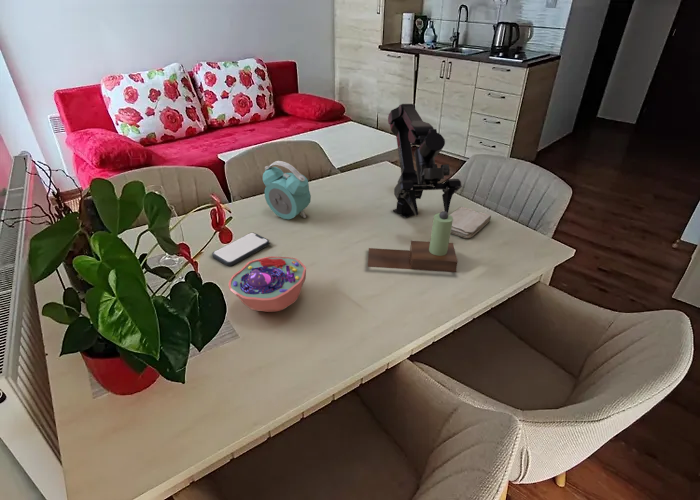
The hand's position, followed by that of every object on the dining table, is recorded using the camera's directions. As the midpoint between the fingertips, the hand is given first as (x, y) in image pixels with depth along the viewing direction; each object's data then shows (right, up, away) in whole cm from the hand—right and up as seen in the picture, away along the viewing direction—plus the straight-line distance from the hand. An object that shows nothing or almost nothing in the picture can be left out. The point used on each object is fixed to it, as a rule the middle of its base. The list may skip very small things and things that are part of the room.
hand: (431, 214), depth 128 cm
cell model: (-44, -24, -16) cm, 53 cm away
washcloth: (+15, -2, +21) cm, 26 cm away
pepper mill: (+1, -11, -3) cm, 11 cm away
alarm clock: (-46, +2, +24) cm, 51 cm away
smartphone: (-57, -11, +4) cm, 58 cm away
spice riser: (-6, -14, 0) cm, 16 cm away
